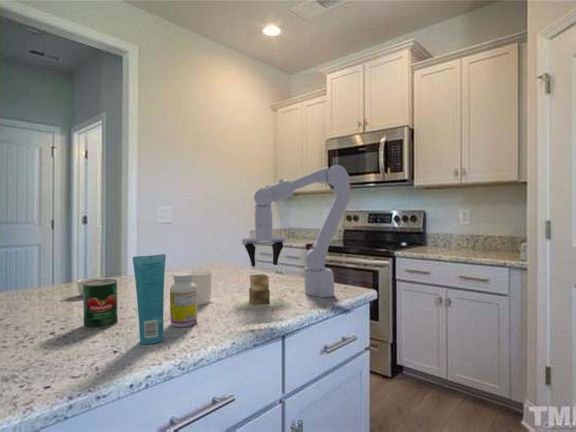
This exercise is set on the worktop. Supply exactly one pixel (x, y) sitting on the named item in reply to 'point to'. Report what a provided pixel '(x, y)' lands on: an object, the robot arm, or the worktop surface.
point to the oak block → (259, 282)
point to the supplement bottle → (183, 301)
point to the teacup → (80, 282)
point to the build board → (248, 305)
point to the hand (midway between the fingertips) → (264, 265)
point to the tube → (150, 296)
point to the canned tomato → (100, 303)
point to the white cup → (202, 285)
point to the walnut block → (259, 297)
